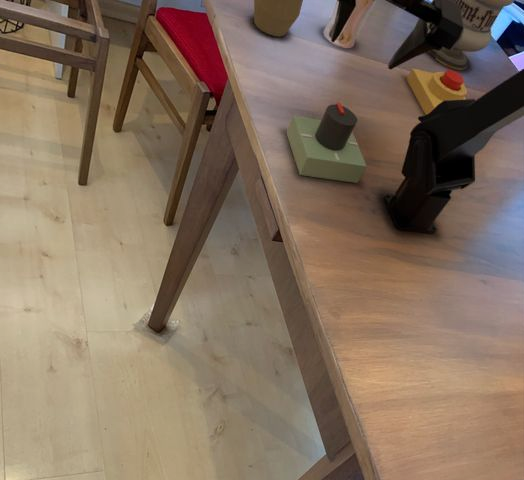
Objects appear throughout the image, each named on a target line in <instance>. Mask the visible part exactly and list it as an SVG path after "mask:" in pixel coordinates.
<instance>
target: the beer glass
mask: <svg viewBox="0 0 524 480" xmlns="http://www.w3.org/2000/svg"><path fill="white" fill-rule="evenodd" d="M375 2H376V0H356V7H355V9H354V10H353V12H352V14H351V16H350V17H349V19H348V21H347V23H346V24H345V26H344V28H343V30H342V31H341V33H340V35H339V36H338V38H337V39H336V40H335V41H334V42H331V36H332V31H333V27H334V22H335V18H336V13H337V8H338V3H339V1H338V0H336V2H335V7H334V9H333V13H332V15H331V17H330V19H329V20H328V22H327V24H326V26H325V28H324V30H323V33H322V34H323V36H324V38H325V39H326V40H327V42H330V43H331V44H333V45H334V46H336V47H338V48H343V49H351V48H353V47H354V45H355V43H356V38H357V36H358V32H359V29H360V27H361V24H362V23H363V21H364V19H365V18H366V16H367V14H368V13H369V11H370V10H371V8H372V6H373V5H374V4H375Z"/></svg>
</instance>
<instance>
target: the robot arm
mask: <svg viewBox="0 0 524 480" xmlns="http://www.w3.org/2000/svg"><path fill="white" fill-rule="evenodd" d="M338 1H339V3H338V8H337V13H336V18H335V22H334V27H333V31H332V36H331V42H334V41H335V40H336V39H337V38H338V36H339V35H340V33H341V31H342V30H343V28H344V26H345V24H346V23H347V21H348V19H349V17H350V16H351V14H352V12H353V10H354V9H355V7H356V0H338ZM385 1H386V2H388V3H390V4H391V5H393V6H395V7H398V8H399V9H401V10H403V11H405V12H407V13H408V14H410V15H413V16H415V17H416V18H418V20H417V22H416V24H415V26H414V28H413V29H412V31H411V32H410V33H409V35H408V36H407V37H406V38H405V40H404V41H403V42H402V43H401V45H400V46H399V47H398V49H397V50H396V51H395V52H394V54H393V55H392V57H391V58H390V60H389V62H388V64H387V69H388V70H390V71H391V70H393V69H395V68H396V67H399V66H400V65H403V64H405V63H406V62H408V61H410V60H412V59H414V58H417V57H418V56H421V55H423V54H426V53H428V52H429V51H431V50H437V51H440V50H441V49H442V47H444V48H446V49H448V50H452V49H453V48H454V47H455V46H456V44H457V43H458V42H459V41H460V40H461V38H462V35H463V33H464V27H463V20H462V13H461V6H459V5H457V4H455V3H453V2H451V1H450V0H432V1H431V2H428V1H427V0H385ZM331 42H330V43H331ZM523 117H524V68H522V69H521V70H519V71H518V72H516V73H515V74H513V75H512V76H510V77H508V78H507V79H506V80H504V81H502V82H501V83H499V84H498V85H497V86H495V87H494V88H492V89H490V90H488V91H487V92H485V94H483V95H481V96H480V97H479V98H476V99H475V98H466V99H463V100H446V101H443V102H441V103H440V104H438V105H437V106H436V107H435V108H434V109H433V110H432V111H431V112H430V113H429V114H427V115H425V114H424V115H421V116H418V117H417V120H418V121H419V122H418V123H417V124H416V125H414V127H413V128H412V129H411V131H410V132H409V136H410V138H409V140H408V147H407V149H406V153H405V156H404V161H403V164H402V168H401V174H402V176H403V177H404V179H403V180H402V182H401V183H400V185H399V187H398V188H397V190H396V191H395V193H394V194H389V193H386V194H384V196H383V201H384V202H385V205H386V207H387V210H388V212H389V215H390V218H391V219H392V222H393V224H394V227H395V228H396V229H397V230H399V231H408V232H417V233H426V234H436V233H437V231H438V229H437V227H436V225H435V220H436V219H437V218H438V216H439V215H440V214H441V212H442V211H443V210H444V209H445V207H446V206H447V205H448V203H449V202H450V200H451V199H452V197H451V194H452V191H454V190H455V191H456V190H464V189H467V187H470V186H472V184H474V183H475V182H476V164H475V163H476V159H475V158H476V155H477V154H479V152H480V151H482V150H483V149H484V148H485V147H486V146H487V144H489V142H490V140H491V139H492V137H493V136H494V135H495V134H496V133H497V132H499V131H500V130H502V129H504V128H505V127H507V126H509V125H510V124H512V123H513V122H515V121H518V120H519V119H520V118H523Z"/></svg>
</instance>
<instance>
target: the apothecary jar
mask: <svg viewBox="0 0 524 480" xmlns="http://www.w3.org/2000/svg"><path fill="white" fill-rule="evenodd" d="M450 1H451V2H453V3H455V4H457V5H459V6H461V13H462V20H463V27H464V33H463V35H462V38H461V40H460V41H459V42H458V43H457V44H456V46H455V47H454V48H453V49H452V50H448V49H446V48H444V47H442V49H441V50H440V51H437V50H431V51H429V52H427V53H428V54H429V55H431V56H432V57H433V58H434V60H435V61H437V62H438V63H440V64H441V65H443V66H446V67H448V68H450V69H452V70H457V71H463V70H466V69H467V68H468V66H469V60H468V58H467V56H466V55H465V53H464V52H468V53H471V52H472V53H473V52H479V51H482V50H484V49H485V48H487V47H488V46H489V44H490V43H491V40H492V27H493V26H494V24H495V22H496V20H497V19H498V17H499V15H500V13H501V12H502V10H503V9H504V8H505V7H507V6H510V5H512V4H514V3H515V2H516V0H450Z"/></svg>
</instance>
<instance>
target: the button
mask: <svg viewBox="0 0 524 480" xmlns="http://www.w3.org/2000/svg"><path fill="white" fill-rule="evenodd" d="M443 73H444V75H443V77H442V78H441V80H440V81H441V83H442V84H444V85H445V86H446V87H447V88H449V89H451V90H455V91H458V90H459V88H460V87H461V85H462V84H464V82H465V79H464V77H463V76H462V75H461V74H459V73H458V72H457V71H454V70H451V69H447V70H445V71H444V72H443Z"/></svg>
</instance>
